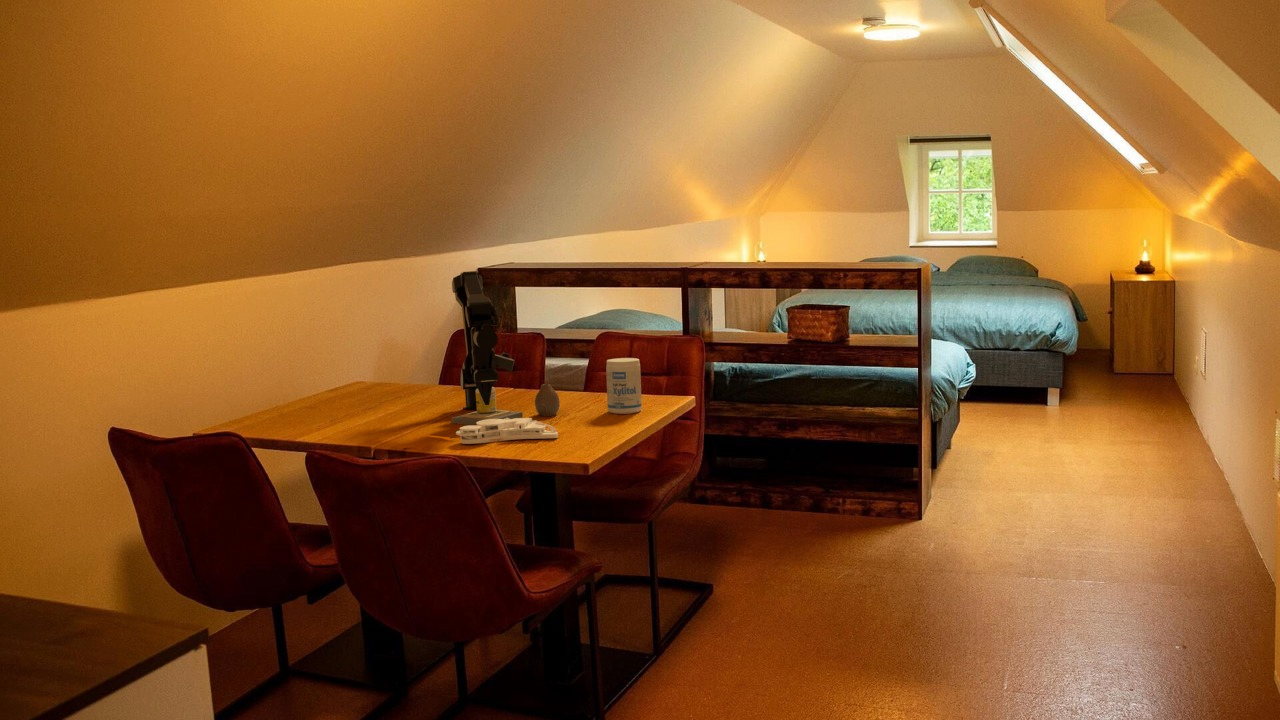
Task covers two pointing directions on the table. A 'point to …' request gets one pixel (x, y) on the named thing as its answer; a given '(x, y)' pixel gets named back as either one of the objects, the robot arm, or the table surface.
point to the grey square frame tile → (484, 417)
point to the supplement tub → (623, 385)
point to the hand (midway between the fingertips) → (486, 402)
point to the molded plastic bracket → (505, 430)
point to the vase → (547, 401)
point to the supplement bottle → (486, 409)
